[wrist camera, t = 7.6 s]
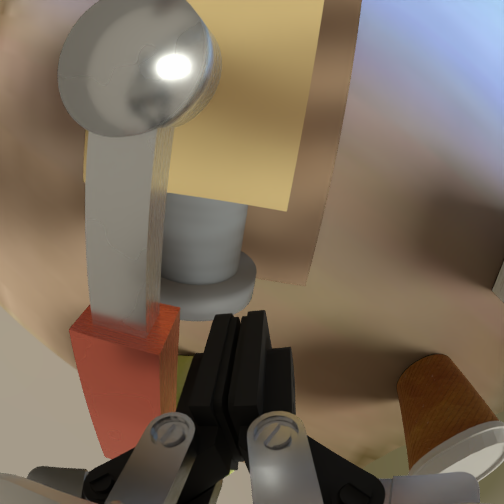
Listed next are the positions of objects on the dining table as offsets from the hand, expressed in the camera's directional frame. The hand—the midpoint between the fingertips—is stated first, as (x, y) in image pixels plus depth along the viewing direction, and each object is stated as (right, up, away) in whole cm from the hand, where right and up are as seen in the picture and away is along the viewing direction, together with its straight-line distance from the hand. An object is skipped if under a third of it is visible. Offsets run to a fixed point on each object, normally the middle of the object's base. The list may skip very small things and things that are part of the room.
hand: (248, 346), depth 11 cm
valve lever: (-3, +2, -2) cm, 4 cm away
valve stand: (-1, +13, +8) cm, 15 cm away
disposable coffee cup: (+17, -9, +16) cm, 25 cm away
